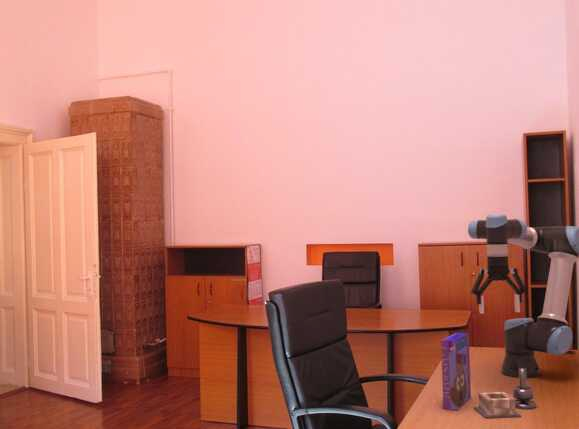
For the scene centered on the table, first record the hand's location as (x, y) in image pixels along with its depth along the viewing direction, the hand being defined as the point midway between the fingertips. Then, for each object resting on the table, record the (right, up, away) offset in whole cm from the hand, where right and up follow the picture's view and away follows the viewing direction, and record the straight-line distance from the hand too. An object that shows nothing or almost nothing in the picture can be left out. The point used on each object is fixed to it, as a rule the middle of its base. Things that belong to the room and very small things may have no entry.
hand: (499, 312), depth 227 cm
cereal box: (-18, -31, -9) cm, 37 cm away
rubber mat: (-8, -31, -21) cm, 38 cm away
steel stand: (+4, -30, -14) cm, 34 cm away
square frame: (-8, -30, -21) cm, 37 cm away
